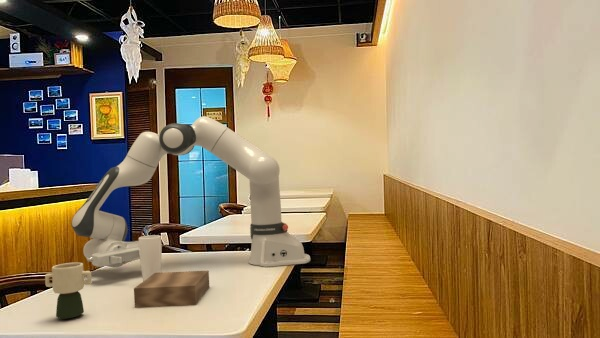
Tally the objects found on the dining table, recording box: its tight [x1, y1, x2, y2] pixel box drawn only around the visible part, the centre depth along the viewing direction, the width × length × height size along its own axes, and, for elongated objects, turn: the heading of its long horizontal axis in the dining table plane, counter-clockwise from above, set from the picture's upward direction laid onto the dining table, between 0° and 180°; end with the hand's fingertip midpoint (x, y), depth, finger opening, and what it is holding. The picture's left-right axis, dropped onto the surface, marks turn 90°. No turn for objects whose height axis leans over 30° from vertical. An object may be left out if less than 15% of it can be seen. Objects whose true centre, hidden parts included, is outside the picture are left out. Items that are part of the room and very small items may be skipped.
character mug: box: [44, 262, 92, 320], centre depth 122 cm, size 11×7×13 cm, turn 97°
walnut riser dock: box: [133, 269, 210, 308], centre depth 136 cm, size 16×18×5 cm
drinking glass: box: [138, 234, 163, 282], centre depth 151 cm, size 7×7×15 cm
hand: (136, 257), depth 157 cm, fingers open, 8 cm apart
